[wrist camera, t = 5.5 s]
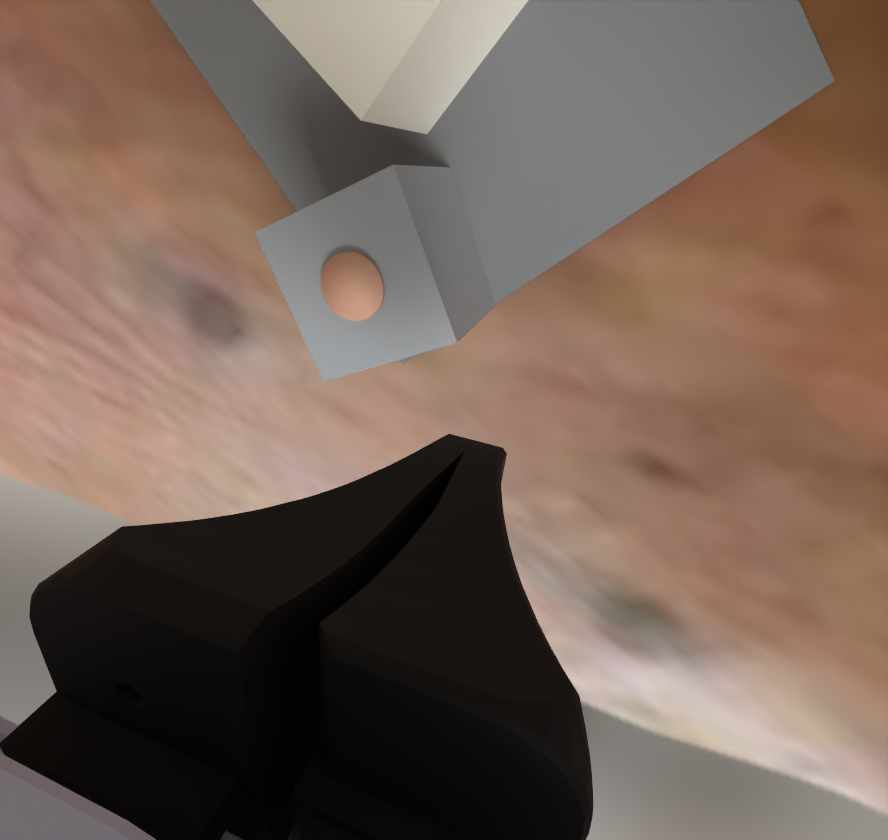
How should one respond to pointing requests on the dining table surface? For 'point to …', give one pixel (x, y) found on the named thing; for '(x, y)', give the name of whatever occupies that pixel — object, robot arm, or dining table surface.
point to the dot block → (380, 269)
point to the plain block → (394, 50)
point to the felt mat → (528, 111)
